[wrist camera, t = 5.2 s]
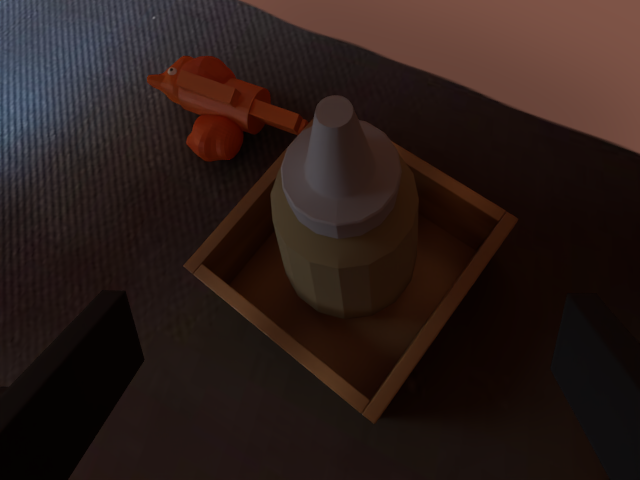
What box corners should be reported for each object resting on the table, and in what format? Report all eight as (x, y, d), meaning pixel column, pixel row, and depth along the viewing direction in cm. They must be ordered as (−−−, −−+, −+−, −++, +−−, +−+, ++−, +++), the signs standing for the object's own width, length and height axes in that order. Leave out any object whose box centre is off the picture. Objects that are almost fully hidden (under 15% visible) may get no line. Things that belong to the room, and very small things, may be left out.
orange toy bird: (306, 77, 29) (155, 28, 32) (265, 184, 30) (120, 127, 32) (323, 102, 34) (191, 58, 37) (288, 194, 35) (160, 143, 37)
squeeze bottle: (324, 196, 33) (281, -20, 16) (429, 241, 31) (510, 53, 14) (271, 295, 31) (154, 170, 14) (380, 349, 29) (403, 284, 12)
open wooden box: (214, 288, 31) (182, 265, 26) (333, 148, 34) (327, 101, 29) (372, 418, 28) (374, 424, 22) (491, 250, 30) (519, 218, 25)
